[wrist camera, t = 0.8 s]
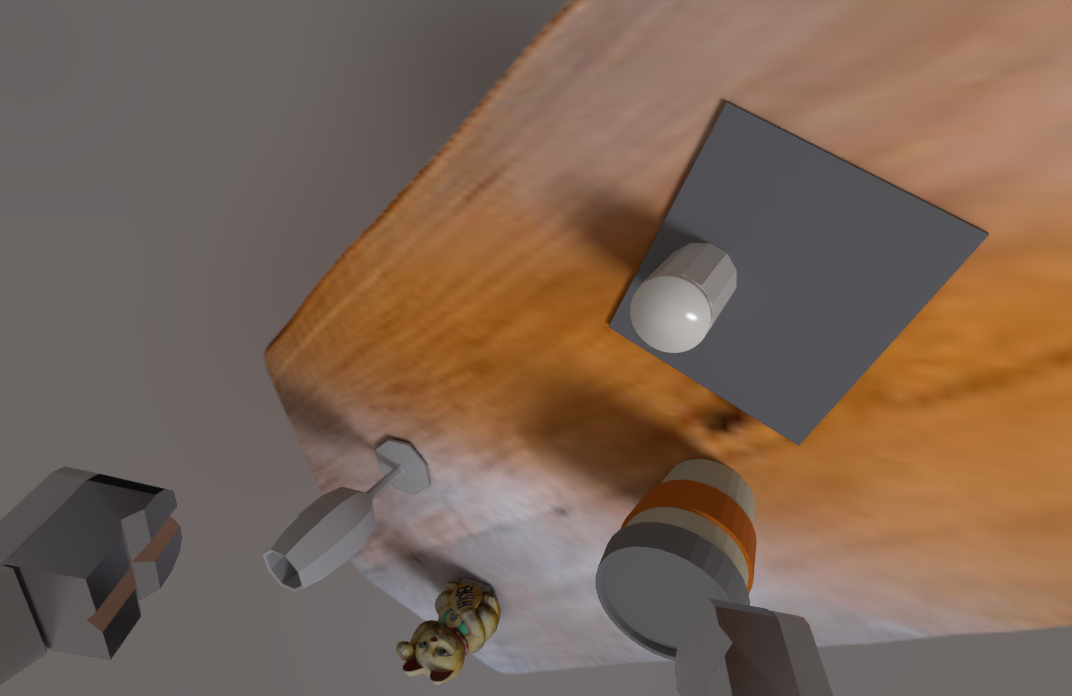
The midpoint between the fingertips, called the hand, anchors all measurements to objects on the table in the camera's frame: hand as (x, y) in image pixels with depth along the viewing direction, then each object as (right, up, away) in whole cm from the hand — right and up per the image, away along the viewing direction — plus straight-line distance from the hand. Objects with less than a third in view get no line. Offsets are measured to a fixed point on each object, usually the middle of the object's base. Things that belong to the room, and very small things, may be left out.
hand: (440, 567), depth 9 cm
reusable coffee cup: (+19, -12, +52) cm, 57 cm away
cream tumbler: (+15, +9, +42) cm, 46 cm away
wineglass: (-16, -12, +74) cm, 77 cm away
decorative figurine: (-6, -32, +78) cm, 85 cm away
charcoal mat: (+20, +8, +41) cm, 46 cm away
